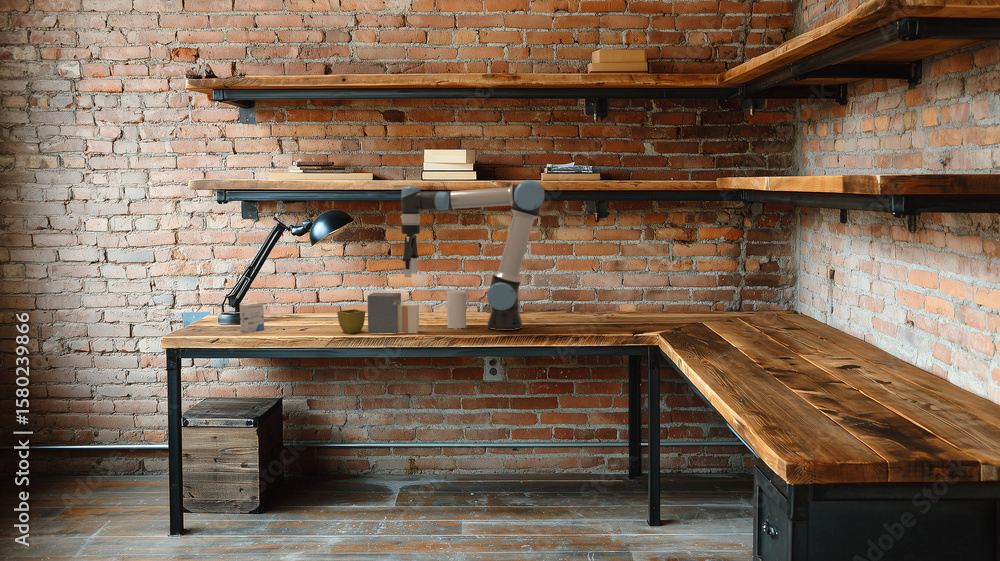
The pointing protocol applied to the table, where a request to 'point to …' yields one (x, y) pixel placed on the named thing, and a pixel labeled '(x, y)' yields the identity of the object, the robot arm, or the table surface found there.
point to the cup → (456, 309)
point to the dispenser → (383, 312)
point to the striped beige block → (408, 317)
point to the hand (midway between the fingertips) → (410, 275)
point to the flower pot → (351, 320)
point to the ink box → (251, 317)
